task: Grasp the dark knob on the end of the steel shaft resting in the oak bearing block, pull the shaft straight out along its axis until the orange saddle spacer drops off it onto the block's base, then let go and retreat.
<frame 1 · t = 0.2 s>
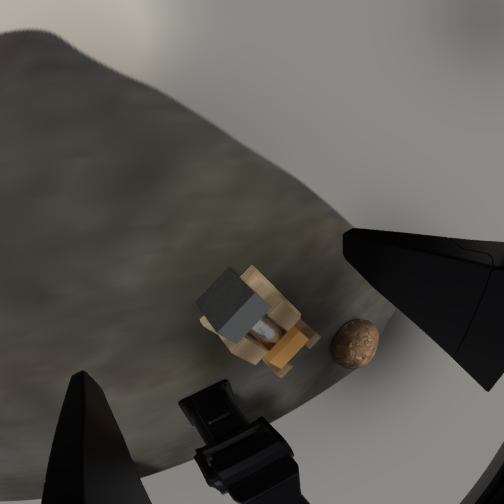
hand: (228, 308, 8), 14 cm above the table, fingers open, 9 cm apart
spacer: (272, 333, 29), point 2 cm above the table, touching shaft
mushroom: (342, 333, 43), on the table
bearing block: (253, 314, 30), on the table
shaft: (260, 326, 26), point 4 cm above the table, slide at 0.0 cm, touching spacer
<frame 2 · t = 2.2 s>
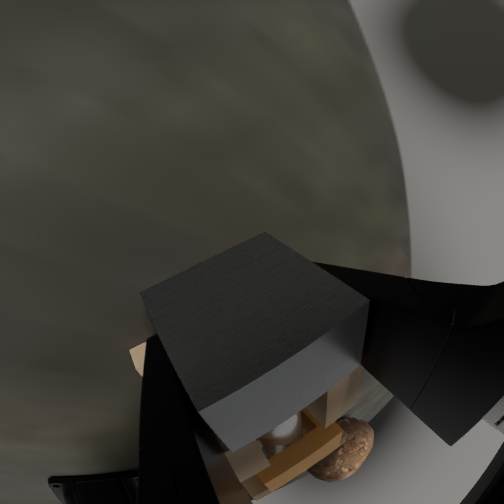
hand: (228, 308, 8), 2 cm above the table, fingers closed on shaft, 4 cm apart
spacer: (270, 422, 12), point 2 cm above the table, touching shaft
mushroom: (323, 432, 27), on the table
bearing block: (239, 377, 14), on the table
shaft: (272, 408, 10), point 4 cm above the table, slide at 0.0 cm, touching gripper, spacer
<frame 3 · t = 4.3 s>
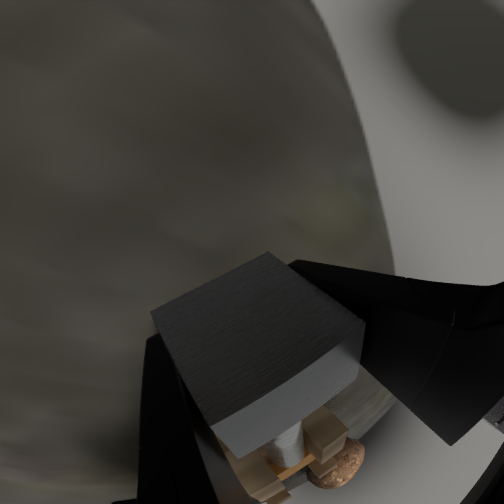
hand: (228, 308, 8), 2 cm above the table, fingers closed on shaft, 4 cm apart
spacer: (270, 439, 17), point 1 cm above the table, touching bearing block
mushroom: (322, 448, 31), on the table
bearing block: (261, 426, 18), on the table
shaft: (274, 414, 10), point 4 cm above the table, slide at 6.4 cm, touching gripper
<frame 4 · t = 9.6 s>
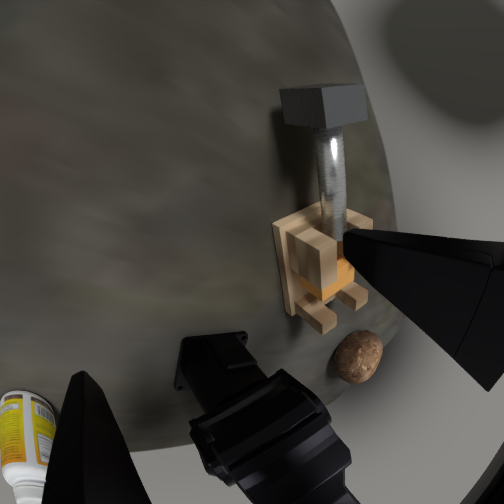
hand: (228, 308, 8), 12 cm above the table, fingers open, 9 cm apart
supplement bottle: (26, 405, 17), on the table
spacer: (317, 265, 27), point 1 cm above the table, touching bearing block
mushroom: (345, 345, 41), on the table
bearing block: (309, 255, 27), on the table
shaft: (330, 165, 20), point 4 cm above the table, slide at 7.3 cm
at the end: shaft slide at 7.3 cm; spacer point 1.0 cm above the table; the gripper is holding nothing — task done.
